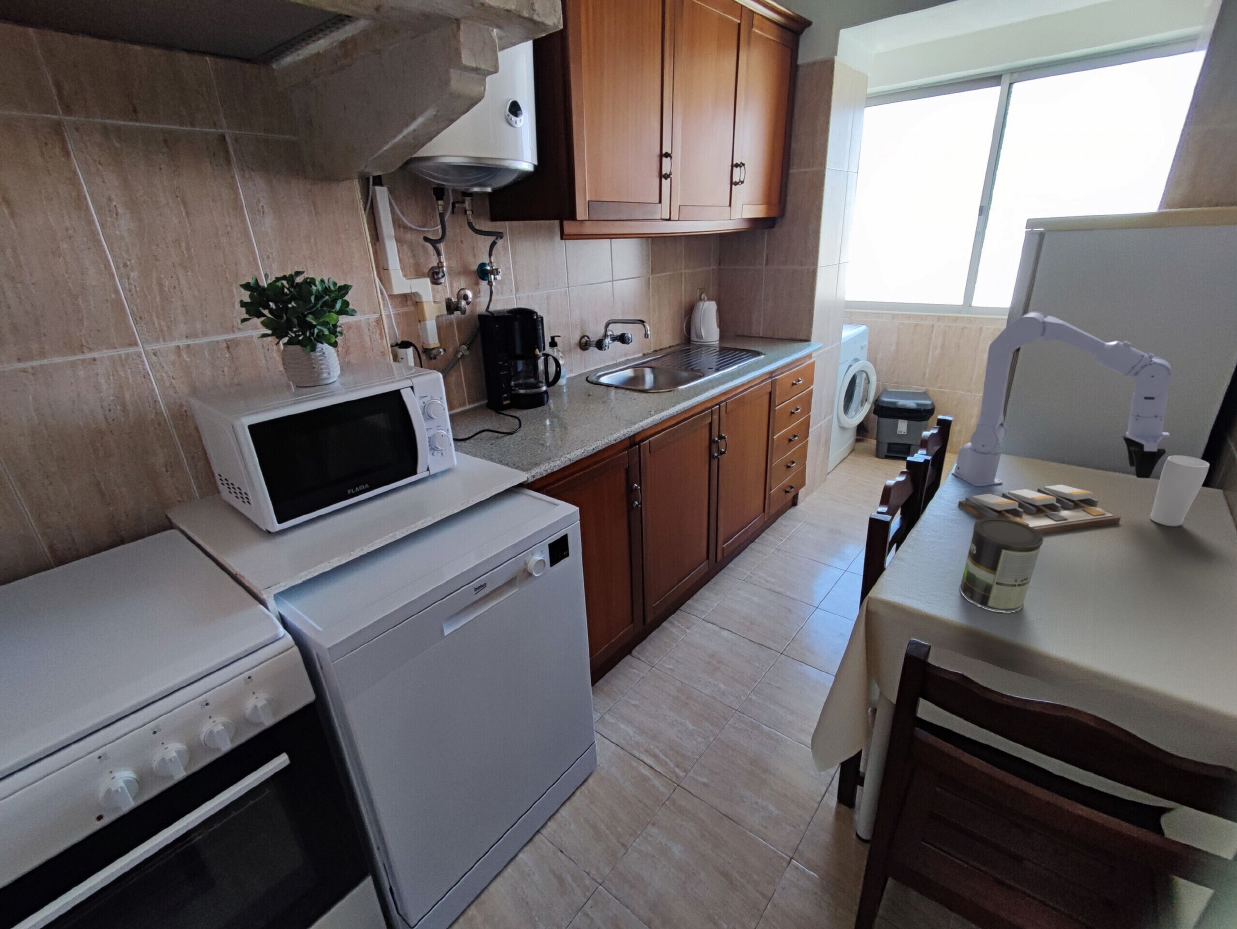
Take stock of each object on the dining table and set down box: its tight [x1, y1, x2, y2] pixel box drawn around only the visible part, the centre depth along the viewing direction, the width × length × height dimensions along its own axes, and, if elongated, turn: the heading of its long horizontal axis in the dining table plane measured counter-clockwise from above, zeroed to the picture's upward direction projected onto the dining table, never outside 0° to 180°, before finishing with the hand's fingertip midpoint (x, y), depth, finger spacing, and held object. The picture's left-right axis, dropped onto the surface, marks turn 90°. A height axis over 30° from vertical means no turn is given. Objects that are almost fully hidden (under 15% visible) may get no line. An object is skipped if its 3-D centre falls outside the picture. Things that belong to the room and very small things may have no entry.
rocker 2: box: [1043, 484, 1094, 500], centre depth 134 cm, size 8×5×1 cm, turn 10°
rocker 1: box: [971, 493, 1018, 510], centre depth 131 cm, size 8×5×1 cm, turn 10°
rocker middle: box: [1007, 488, 1056, 505], centre depth 133 cm, size 8×5×1 cm, turn 10°
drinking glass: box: [1149, 454, 1211, 527], centre depth 124 cm, size 7×7×15 cm
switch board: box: [957, 487, 1121, 535], centre depth 132 cm, size 16×28×3 cm, turn 100°
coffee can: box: [959, 518, 1044, 612], centre depth 102 cm, size 10×10×14 cm
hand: (1139, 471), depth 128 cm, fingers open, 7 cm apart
